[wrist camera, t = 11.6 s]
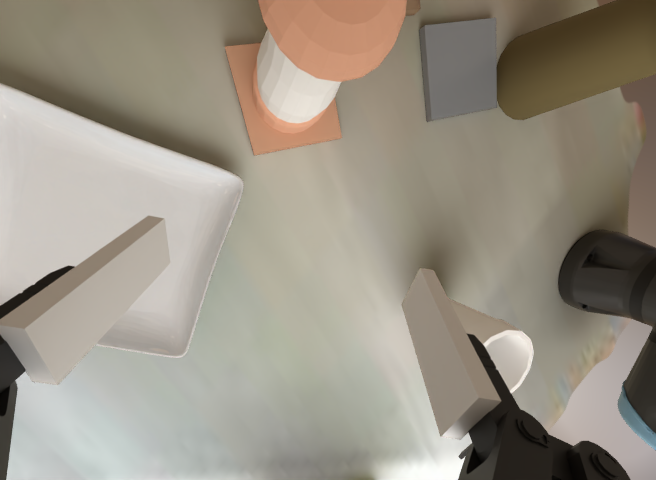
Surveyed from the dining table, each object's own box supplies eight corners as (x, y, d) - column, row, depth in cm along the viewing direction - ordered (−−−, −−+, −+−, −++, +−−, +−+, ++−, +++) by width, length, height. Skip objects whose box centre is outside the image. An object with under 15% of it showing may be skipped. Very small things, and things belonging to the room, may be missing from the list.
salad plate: (0, 82, 22) (-42, 66, 19) (248, 177, 29) (247, 178, 26) (-45, 303, 25) (-89, 322, 22) (192, 342, 32) (185, 360, 29)
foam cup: (417, 348, 42) (484, 419, 29) (387, 312, 38) (449, 375, 26) (459, 308, 42) (543, 362, 30) (434, 270, 39) (516, 313, 27)
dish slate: (488, 22, 32) (496, 17, 31) (490, 109, 35) (496, 107, 34) (419, 29, 30) (424, 25, 29) (426, 121, 33) (431, 120, 32)
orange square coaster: (321, 40, 28) (324, 35, 27) (339, 138, 31) (341, 137, 30) (225, 51, 26) (224, 46, 25) (254, 155, 28) (254, 154, 28)
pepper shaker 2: (551, 116, 38) (814, 63, 20) (493, 124, 36) (732, 72, 18) (558, 32, 35) (873, -116, 17) (495, 35, 33) (785, -133, 15)
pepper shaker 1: (273, 40, 26) (320, -275, 8) (334, 87, 28) (475, -68, 10) (239, 107, 26) (210, -42, 8) (302, 147, 29) (383, 100, 11)
